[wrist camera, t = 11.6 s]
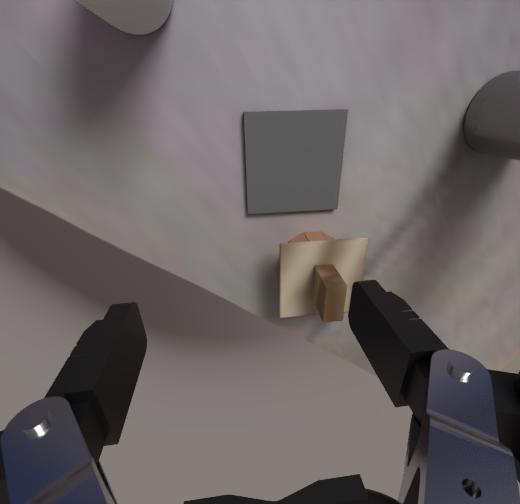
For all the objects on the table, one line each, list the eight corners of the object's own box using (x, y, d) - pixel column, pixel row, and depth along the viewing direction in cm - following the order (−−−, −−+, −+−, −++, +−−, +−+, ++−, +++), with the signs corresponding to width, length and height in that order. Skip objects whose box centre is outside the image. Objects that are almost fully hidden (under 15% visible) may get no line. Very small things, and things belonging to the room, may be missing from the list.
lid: (365, 237, 37) (388, 259, 32) (354, 306, 42) (373, 335, 37) (279, 243, 36) (289, 267, 31) (279, 314, 41) (287, 344, 36)
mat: (345, 109, 34) (347, 109, 33) (335, 207, 40) (337, 209, 39) (243, 112, 33) (243, 112, 32) (247, 212, 39) (247, 214, 38)
